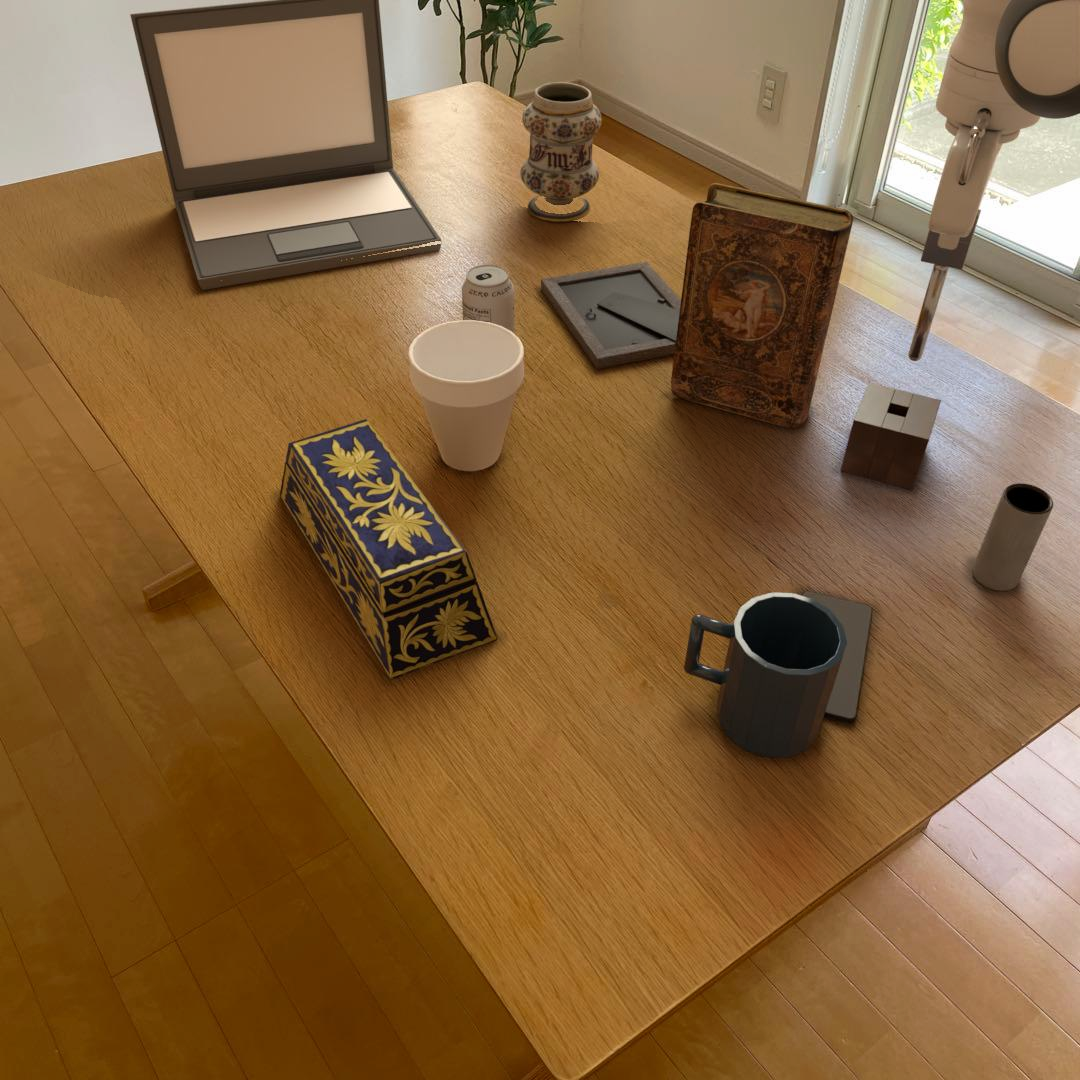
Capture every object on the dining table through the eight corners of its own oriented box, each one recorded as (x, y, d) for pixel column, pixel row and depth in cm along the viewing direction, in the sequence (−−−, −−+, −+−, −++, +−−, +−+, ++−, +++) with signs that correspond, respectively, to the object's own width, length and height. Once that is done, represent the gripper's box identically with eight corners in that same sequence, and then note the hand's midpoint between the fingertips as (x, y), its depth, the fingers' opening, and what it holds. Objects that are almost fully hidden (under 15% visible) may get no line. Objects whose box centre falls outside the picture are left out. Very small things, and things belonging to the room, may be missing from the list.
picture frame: (711, 347, 137) (646, 271, 151) (713, 333, 135) (647, 258, 150) (596, 369, 132) (541, 289, 147) (597, 355, 131) (541, 276, 146)
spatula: (934, 361, 110) (981, 209, 99) (931, 367, 109) (979, 215, 98) (895, 352, 111) (937, 201, 100) (893, 358, 111) (935, 207, 99)
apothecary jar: (612, 208, 166) (620, 91, 153) (561, 233, 159) (564, 113, 147) (556, 185, 172) (559, 70, 159) (504, 208, 165) (503, 91, 153)
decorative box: (371, 464, 118) (362, 398, 112) (497, 639, 99) (496, 571, 93) (279, 494, 114) (265, 427, 108) (392, 682, 95) (383, 614, 89)
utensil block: (924, 449, 121) (941, 399, 116) (912, 490, 116) (929, 439, 111) (855, 431, 124) (869, 382, 119) (840, 470, 118) (853, 420, 113)
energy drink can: (523, 389, 129) (523, 279, 119) (480, 404, 127) (477, 293, 116) (499, 366, 133) (497, 257, 123) (457, 379, 130) (451, 270, 120)
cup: (420, 491, 115) (411, 387, 105) (412, 424, 123) (403, 323, 114) (531, 481, 116) (532, 378, 107) (516, 416, 125) (515, 315, 116)
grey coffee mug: (830, 696, 95) (857, 612, 87) (805, 772, 89) (832, 689, 81) (696, 651, 98) (711, 566, 91) (664, 721, 92) (677, 637, 85)
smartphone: (873, 605, 102) (855, 721, 92) (871, 611, 103) (853, 727, 92) (802, 588, 104) (776, 700, 93) (801, 594, 105) (775, 706, 94)
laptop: (200, 290, 145) (151, 79, 126) (175, 207, 164) (129, 12, 145) (441, 249, 155) (430, 48, 136) (392, 175, 174) (376, -12, 154)
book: (812, 407, 127) (858, 212, 110) (800, 432, 123) (845, 233, 106) (684, 373, 132) (708, 181, 115) (669, 395, 128) (692, 201, 111)
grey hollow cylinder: (975, 554, 108) (1007, 477, 101) (1021, 568, 107) (1056, 491, 100) (968, 582, 105) (999, 504, 98) (1015, 597, 104) (1050, 519, 97)
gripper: (1016, 141, 84) (967, 296, 93) (1041, 62, 98) (996, 204, 107) (935, 127, 86) (895, 280, 95) (971, 52, 99) (933, 192, 109)
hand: (949, 239), depth 101 cm, fingers closed on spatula, 1 cm apart
